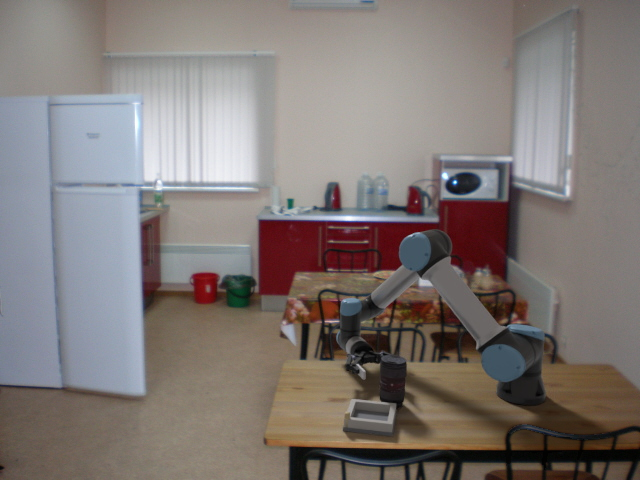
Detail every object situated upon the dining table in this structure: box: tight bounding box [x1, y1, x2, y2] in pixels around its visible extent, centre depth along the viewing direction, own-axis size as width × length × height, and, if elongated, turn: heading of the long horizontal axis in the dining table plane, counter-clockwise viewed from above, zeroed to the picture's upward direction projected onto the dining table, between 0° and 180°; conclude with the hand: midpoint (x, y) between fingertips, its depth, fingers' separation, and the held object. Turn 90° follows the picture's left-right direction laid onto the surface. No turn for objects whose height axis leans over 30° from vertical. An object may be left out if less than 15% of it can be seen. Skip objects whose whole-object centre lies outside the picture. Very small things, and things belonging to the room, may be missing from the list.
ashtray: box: [342, 398, 398, 437], centre depth 173 cm, size 14×14×5 cm
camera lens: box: [378, 354, 408, 410], centre depth 184 cm, size 8×8×15 cm
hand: (384, 373), depth 189 cm, fingers open, 13 cm apart
